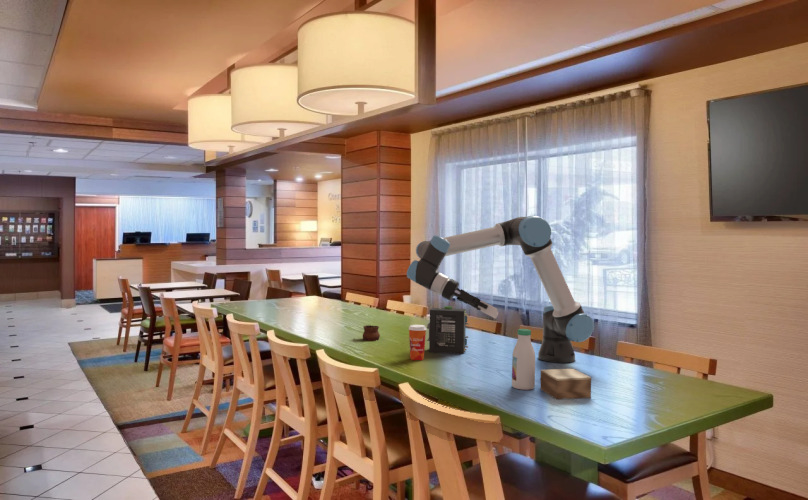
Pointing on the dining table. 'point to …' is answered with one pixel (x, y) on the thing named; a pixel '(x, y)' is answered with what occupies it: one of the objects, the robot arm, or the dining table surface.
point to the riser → (565, 383)
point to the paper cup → (417, 341)
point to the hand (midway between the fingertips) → (496, 314)
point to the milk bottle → (523, 362)
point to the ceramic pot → (370, 333)
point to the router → (447, 330)
